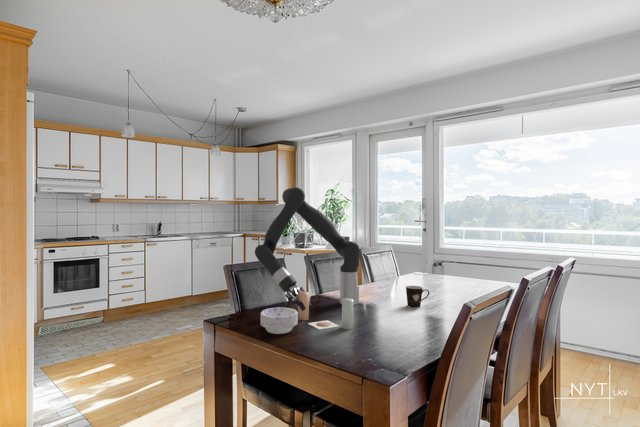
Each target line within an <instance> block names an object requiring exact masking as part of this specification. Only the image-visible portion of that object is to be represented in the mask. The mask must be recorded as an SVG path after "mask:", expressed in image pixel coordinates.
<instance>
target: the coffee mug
mask: <svg viewBox="0 0 640 427" xmlns="http://www.w3.org/2000/svg"><path fill="white" fill-rule="evenodd" d="M405 290H406V291H405V292H406V302H407V307H408V306H410V307H409V308H412V307H419V308H420V307H421V304H422V302H423V301H424V300H425V299H427V298H428V297H429V295H430V290H428V289H427V288H426V289H424V287H423V286H420V285H406V286H405ZM426 291H427V295H426V296H425V297H423V292H426ZM422 297H423V298H422Z"/></svg>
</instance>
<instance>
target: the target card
mask: <svg viewBox="0 0 640 427" xmlns="http://www.w3.org/2000/svg"><path fill="white" fill-rule="evenodd" d="M307 325H309V326H311V327H313V328H315V329H317V330H318V331H319V330H320V331H321V330H327V329H333V328H339V327H340V325H338V324H336V323H334V322H332V321H330V320H329V319H328V320H320V321H314V322H307Z"/></svg>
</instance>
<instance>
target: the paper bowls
mask: <svg viewBox="0 0 640 427" xmlns="http://www.w3.org/2000/svg"><path fill="white" fill-rule="evenodd" d="M298 321H299V319H298V310H296V309H294V308H291V307H290V308H289V307H283V306H282V307H280V306H278V307H277V306H276V307H271V308H270V307H269V308H266V309H263V310H262V311H261V312H260V325H261V327H262V328H265V330H266V332H268V333H270V334H273V335H283V334H288V333H290V332H291V331H292V330H293V328H294V327H295V326H297V325H298Z"/></svg>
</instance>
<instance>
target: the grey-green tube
mask: <svg viewBox="0 0 640 427" xmlns="http://www.w3.org/2000/svg"><path fill="white" fill-rule="evenodd" d="M341 329H343V330H347V331H348V330H353V329H354V305H353V299H351V298H344V299H342V304H341Z"/></svg>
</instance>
